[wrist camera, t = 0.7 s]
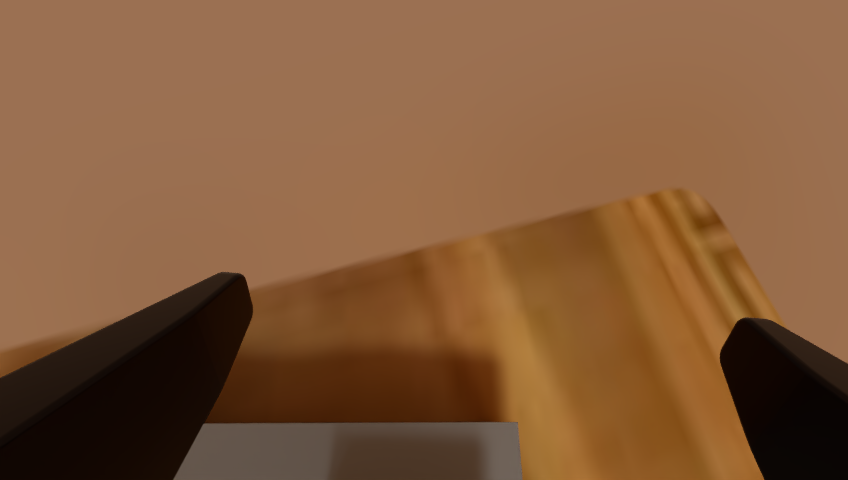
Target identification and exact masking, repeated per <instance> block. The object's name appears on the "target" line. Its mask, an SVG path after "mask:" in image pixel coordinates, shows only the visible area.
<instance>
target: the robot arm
mask: <svg viewBox="0 0 848 480" xmlns="http://www.w3.org/2000/svg"><path fill="white" fill-rule="evenodd" d="M252 315H253V305H252V301H251V297H250V293H249V290H248V286H247V282H246V279H245V277H244V276H243V275H242V274H239V273H229V272H221V273H218V274H216V275H213V276H211V277H209V278H207V279H205V280H203V281H201V282H199V283H197V284H195V285H193V286H191V287H189V288H186V289H184V290H183V291H180V292H178V293H176V294H174V295H172V296H170V297H168V298H166V299H164V300H162V301H159V302H157V303H155V304H153V305H151V306H149V307H147V308H145V309H143V310H141V311H139V312H136V313H134V314H132V315H130V316H128V317H126V318H124V319H122V320H120V321H118V322H116V323H114V324H111V325H109V326H107V327H105V328H103V329H101V330H99V331H97V332H95V333H93V334H91V335H89V336H86V337H84V338H82V339H80V340H78V341H76V342H74V343H72V344H70V345H68V346H66V347H64V348H62V349H59V350H57V351H55V352H53V353H51V354H49V355H47V356H45V357H43V358H41V359H39V360H37V361H34V362H32V363H30V364H28V365H26V366H24V367H22V368H20V369H18V370H16V371H14V372H12V373H9V374H7V375H5V376H3V377H1V378H0V480H174V478H175V476H176V474H177V472H178V470H179V468H180V467H181V465H182V463H183V461H184V459H185V457H186V456H187V454H188V452H189V450H190V448H191V446H192V444H193V443H194V441H195V439H196V437H197V435H198V433H199V432H200V430H201V428H202V426H203V424H204V422H205V420H206V419H207V417H208V415H209V413H210V411H211V409H212V407H213V406H214V404H215V402H216V400H217V398H218V396H219V394H220V392H221V390H222V388H223V386H224V384H225V382H226V379H227V377H228V375H229V372H230V370H231V367H232V365H233V363H234V360H235V358H236V355H237V353H238V350H239V348H240V346H241V343H242V341H243V338H244V336H245V333H246V331H247V329H248V326H249V324H250V321H251V318H252ZM720 363H721V367H722V370H723V373H724V376H725V378H726V381H727V384H728V387H729V390H730V393H731V396H732V399H733V401H734V404H735V407H736V410H737V413H738V416H739V419H740V422H741V424H742V427H743V430H744V433H745V436H746V438H747V441H748V443H749V446H750V449H751V451H752V453H753V455H754V458H755V460H756V462H757V465H758V467H759V469H760V471H761V473H762V475H763V477H764V480H848V364H847V363H845V362H844V361H842V360H840V359H838V358H837V357H835V356H833V355H831V354H830V353H828V352H826V351H824V350H823V349H821V348H819V347H817V346H816V345H814V344H812V343H810V342H809V341H807V340H805V339H803V338H802V337H800V336H798V335H796V334H794V333H793V332H791V331H789V330H787V329H786V328H784V327H782V326H780V325H779V324H777V323H775V322H773V321H771V320H768V319H759V318H748V317H747V318H742V319H740V320H739V321H737V323H736V324H735V326H734V328H733V329H732V331H731V333H730V335H729V337H728V338H727V340H726V342H725V344H724V345H723V347H722V349H721V352H720Z"/></svg>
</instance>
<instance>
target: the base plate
mask: <svg viewBox="0 0 848 480" xmlns="http://www.w3.org/2000/svg"><path fill="white" fill-rule="evenodd" d="M174 480H522V468H521V457H520V445H519V433H518V422H335V423H204V424H203V426H202V428H201V430H200V432H199V433H198V435H197V437H196V439H195V441H194V443H193V444H192V446H191V448H190V450H189V452H188V454H187V456H186V457H185V459H184V461H183V463H182V465H181V467H180V468H179V470H178V472H177V474H176V476H175V478H174Z"/></svg>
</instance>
